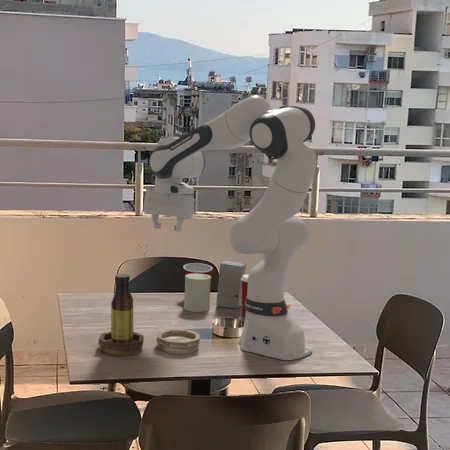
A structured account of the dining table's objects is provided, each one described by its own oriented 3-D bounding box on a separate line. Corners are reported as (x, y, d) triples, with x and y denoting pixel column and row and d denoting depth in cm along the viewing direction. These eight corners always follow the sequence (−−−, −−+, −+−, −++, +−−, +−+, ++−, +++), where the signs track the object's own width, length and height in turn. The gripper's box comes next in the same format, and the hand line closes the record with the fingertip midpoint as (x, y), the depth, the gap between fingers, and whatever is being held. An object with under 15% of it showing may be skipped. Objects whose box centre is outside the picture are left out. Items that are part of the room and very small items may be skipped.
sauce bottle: (122, 337, 213) (124, 271, 210) (137, 342, 209) (139, 275, 206) (105, 342, 208) (107, 274, 205) (120, 347, 204) (122, 278, 201)
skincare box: (215, 306, 258) (218, 263, 256) (221, 301, 265) (223, 259, 263) (238, 309, 256) (241, 265, 254) (244, 304, 263) (246, 262, 260)
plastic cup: (184, 301, 263) (185, 269, 261) (179, 294, 273) (181, 262, 271) (213, 301, 265) (215, 269, 263) (208, 294, 275) (209, 263, 274)
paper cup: (259, 320, 245) (262, 279, 242) (237, 317, 246) (239, 277, 244) (263, 314, 252) (265, 274, 250) (241, 311, 254) (243, 272, 251)
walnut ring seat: (151, 350, 209) (152, 338, 209) (118, 359, 200) (118, 347, 200) (124, 339, 217) (124, 328, 217) (90, 348, 208) (90, 336, 208)
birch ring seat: (207, 348, 213) (208, 336, 213) (177, 357, 204) (177, 345, 204) (178, 337, 222) (179, 326, 221) (148, 346, 213) (148, 334, 212)
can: (209, 312, 251) (210, 278, 249) (182, 311, 251) (184, 277, 249) (210, 305, 260) (211, 272, 258) (184, 304, 260) (185, 271, 258)
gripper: (139, 185, 239) (138, 227, 240) (184, 188, 226) (182, 233, 227) (153, 185, 244) (152, 226, 245) (197, 188, 230) (196, 232, 232)
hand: (167, 229), depth 236 cm, fingers open, 8 cm apart
